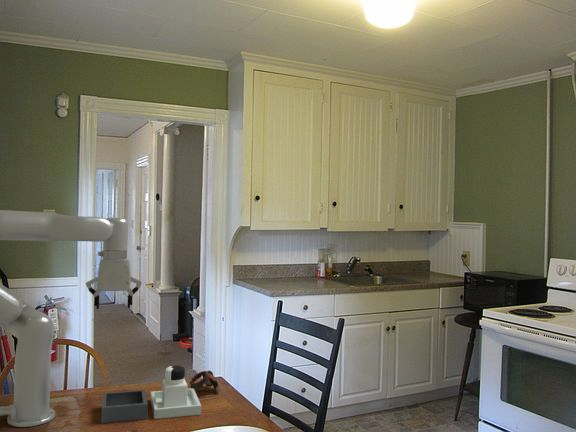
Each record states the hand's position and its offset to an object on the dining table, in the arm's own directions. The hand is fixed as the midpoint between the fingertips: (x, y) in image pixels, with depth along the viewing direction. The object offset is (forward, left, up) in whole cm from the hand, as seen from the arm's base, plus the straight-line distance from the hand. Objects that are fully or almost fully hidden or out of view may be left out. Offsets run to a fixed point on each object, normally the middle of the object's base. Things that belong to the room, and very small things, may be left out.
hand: (113, 307), depth 167 cm
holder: (+4, -12, -30) cm, 33 cm away
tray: (+20, -11, -30) cm, 38 cm away
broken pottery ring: (+31, +1, -31) cm, 44 cm away
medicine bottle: (+19, -11, -30) cm, 37 cm away
